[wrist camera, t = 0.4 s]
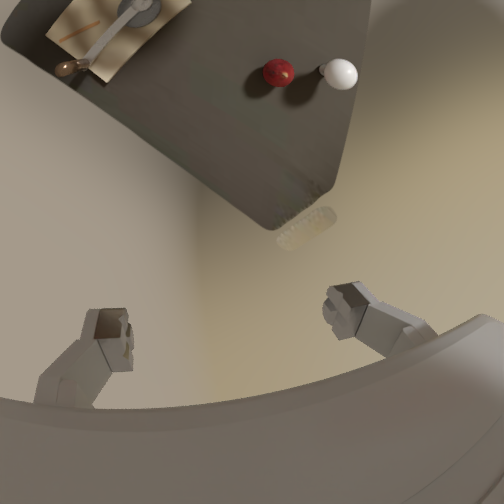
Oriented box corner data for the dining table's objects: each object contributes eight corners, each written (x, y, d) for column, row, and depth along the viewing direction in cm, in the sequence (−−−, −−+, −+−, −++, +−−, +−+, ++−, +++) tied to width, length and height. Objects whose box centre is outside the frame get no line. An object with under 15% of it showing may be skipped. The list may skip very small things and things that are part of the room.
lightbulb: (337, 57, 45) (364, 62, 37) (336, 84, 49) (362, 94, 41) (309, 54, 44) (333, 58, 36) (309, 82, 48) (331, 91, 40)
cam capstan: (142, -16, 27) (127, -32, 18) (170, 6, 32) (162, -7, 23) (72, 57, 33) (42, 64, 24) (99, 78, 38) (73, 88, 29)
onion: (255, 80, 47) (264, 85, 41) (263, 54, 43) (274, 55, 37) (282, 87, 49) (295, 94, 43) (291, 63, 45) (305, 66, 39)
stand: (125, -46, 21) (123, -48, 20) (191, 3, 33) (191, 1, 32) (48, 35, 28) (44, 35, 27) (109, 81, 40) (106, 83, 39)
